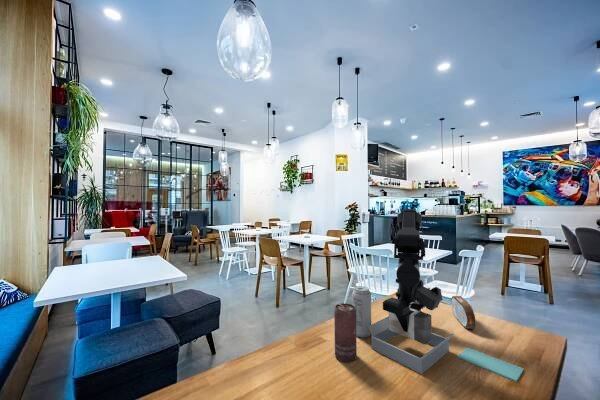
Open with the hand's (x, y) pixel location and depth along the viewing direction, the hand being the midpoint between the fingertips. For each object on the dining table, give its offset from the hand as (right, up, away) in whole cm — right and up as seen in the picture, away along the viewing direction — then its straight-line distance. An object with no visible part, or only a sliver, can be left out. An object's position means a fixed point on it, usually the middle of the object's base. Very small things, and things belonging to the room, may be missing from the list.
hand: (409, 329), depth 78 cm
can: (-19, -6, -3) cm, 21 cm away
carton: (0, -6, 0) cm, 6 cm away
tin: (+26, -6, +17) cm, 32 cm away
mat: (+19, -6, -7) cm, 21 cm away
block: (0, -2, 0) cm, 2 cm away
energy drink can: (-12, -6, +10) cm, 17 cm away
